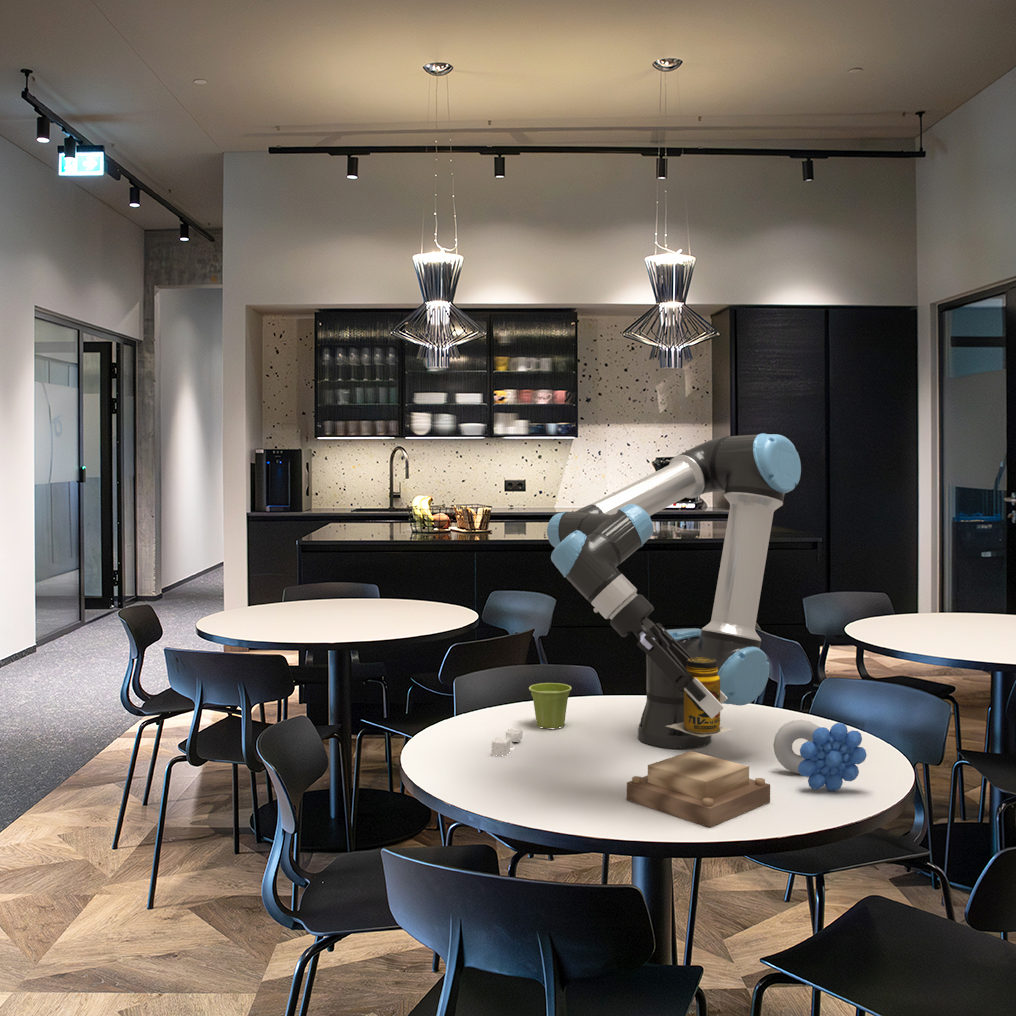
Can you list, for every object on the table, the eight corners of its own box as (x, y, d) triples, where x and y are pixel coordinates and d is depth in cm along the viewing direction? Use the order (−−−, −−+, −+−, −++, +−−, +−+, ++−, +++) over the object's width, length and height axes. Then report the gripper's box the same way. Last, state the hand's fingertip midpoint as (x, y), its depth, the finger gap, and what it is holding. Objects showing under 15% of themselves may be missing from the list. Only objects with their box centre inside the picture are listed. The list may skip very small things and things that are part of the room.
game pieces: (506, 759, 180) (506, 743, 180) (490, 757, 181) (490, 741, 181) (524, 741, 191) (524, 726, 191) (509, 740, 192) (509, 725, 192)
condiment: (703, 738, 149) (703, 665, 149) (665, 727, 156) (665, 657, 156) (732, 730, 154) (732, 659, 153) (694, 720, 161) (694, 652, 160)
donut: (828, 772, 170) (828, 718, 170) (831, 778, 166) (831, 723, 166) (772, 769, 172) (772, 716, 171) (774, 775, 168) (774, 721, 168)
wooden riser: (626, 799, 155) (626, 764, 155) (688, 778, 167) (688, 745, 167) (709, 827, 143) (709, 789, 143) (770, 802, 154) (770, 766, 154)
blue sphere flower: (857, 783, 163) (858, 716, 163) (870, 796, 157) (871, 726, 156) (791, 782, 164) (792, 716, 164) (801, 795, 157) (802, 726, 157)
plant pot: (540, 733, 197) (540, 693, 196) (522, 723, 205) (522, 684, 205) (578, 729, 200) (578, 689, 200) (559, 719, 209) (559, 681, 209)
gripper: (619, 614, 168) (709, 709, 163) (596, 630, 150) (697, 737, 145) (648, 586, 166) (740, 681, 161) (628, 598, 148) (731, 706, 143)
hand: (719, 708), depth 153 cm, fingers closed on condiment, 6 cm apart
